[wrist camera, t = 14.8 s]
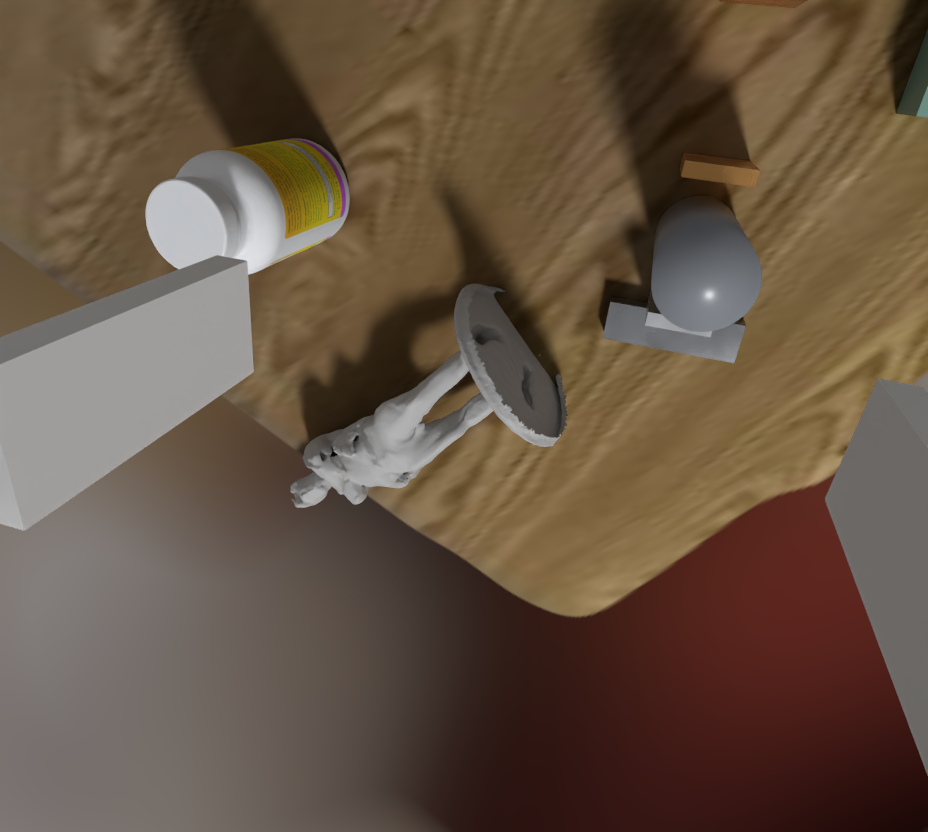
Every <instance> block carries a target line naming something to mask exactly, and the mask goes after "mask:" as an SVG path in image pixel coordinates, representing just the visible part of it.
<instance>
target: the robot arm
mask: <svg viewBox="0 0 928 832" xmlns="http://www.w3.org/2000/svg"><path fill="white" fill-rule="evenodd" d="M253 372H254V370H253V353H252V335H251V318H250V300H249V283H248V266H247V261H246V260H240V259H235V258H229V257H224V256H219V255H216V256H214V257H211V258H208V259H206V260H203V261H200V262H198V263H195V264H192V265H190V266H187V267H184V268H182V269H179V270H177V271H174V272H171V273H169V274H166V275H163V276H161V277H158V278H155V279H153V280H150V281H147V282H145V283H142V284H140V285H137V286H134V287H132V288H129V289H126V290H124V291H121V292H118V293H116V294H113V295H110V296H108V297H105V298H103V299H100V300H97V301H95V302H92V303H89V304H87V305H84V306H81V307H79V308H76V309H74V310H71V311H68V312H66V313H63V314H60V315H58V316H55V317H52V318H50V319H47V320H45V321H42V322H39V323H37V324H34V325H31V326H29V327H26V328H23V329H21V330H18V331H16V332H13V333H10V334H7V335H5V336H3V337H0V524H3V525H7V526H10V527H14V528H17V529H20V530H24V531H25V530H27V529H28V528H29V527H31V526H32V525H34V524H35V523H37V522H38V521H39V520H41V519H42V518H44V517H45V516H47V515H48V514H50V513H51V512H52V511H54V510H55V509H57V508H58V507H60V506H61V505H63V504H64V503H65V502H67V501H68V500H70V499H71V498H73V497H74V496H76V495H77V494H78V493H80V492H81V491H83V490H84V489H86V488H87V487H89V486H90V485H91V484H93V483H94V482H96V481H97V480H99V479H100V478H102V477H103V476H104V475H106V474H107V473H109V472H110V471H112V470H113V469H115V468H116V467H117V466H119V465H120V464H122V463H123V462H125V461H126V460H128V459H129V458H130V457H132V456H133V455H135V454H136V453H137V452H139V451H141V450H142V449H143V448H145V447H146V446H148V445H149V444H151V443H152V442H154V441H155V440H156V439H158V438H159V437H161V436H162V435H164V434H165V433H166V432H168V431H169V430H171V429H172V428H174V427H175V426H176V425H178V424H180V423H181V422H182V421H184V420H185V419H187V418H188V417H189V416H191V415H192V414H194V413H195V412H197V411H198V410H200V409H201V408H203V407H204V406H205V405H207V404H208V403H210V402H211V401H213V400H214V399H216V398H217V397H218V396H220V395H221V394H223V393H224V392H226V391H227V390H229V389H230V388H231V387H233V386H234V385H236V384H237V383H239V382H240V381H242V380H243V379H244V378H246V377H247V376H249V375H250V374H252V373H253ZM825 501H826V504H827V507H828V509H829V512H830V515H831V517H832V520H833V523H834V525H835V528H836V531H837V533H838V536H839V539H840V541H841V544H842V547H843V550H844V552H845V555H846V557H847V560H848V563H849V565H850V568H851V571H852V574H853V576H854V579H855V582H856V584H857V587H858V590H859V592H860V595H861V598H862V600H863V603H864V606H865V608H866V611H867V614H868V617H869V619H870V622H871V624H872V627H873V630H874V633H875V635H876V638H877V641H878V643H879V646H880V649H881V651H882V654H883V657H884V659H885V662H886V665H887V668H888V670H889V673H890V676H891V678H892V681H893V683H894V686H895V689H896V692H897V694H898V697H899V700H900V702H901V705H902V708H903V711H904V713H905V716H906V718H907V721H908V724H909V727H910V729H911V732H912V735H913V737H914V740H915V743H916V745H917V748H918V750H919V753H920V756H921V759H922V761H923V764H924V767H925V770H926V772H927V775H928V393H927V391H926V390H925V389H924V388H923V387H920V386H915V385H909V384H904V383H899V382H893V381H888V380H883V379H877V382H876V384H875V386H874V389H873V391H872V393H871V395H870V398H869V400H868V402H867V404H866V407H865V409H864V411H863V414H862V416H861V418H860V420H859V423H858V425H857V427H856V429H855V432H854V434H853V436H852V439H851V441H850V443H849V445H848V448H847V450H846V452H845V454H844V457H843V459H842V461H841V464H840V466H839V468H838V470H837V473H836V475H835V477H834V479H833V482H832V484H831V486H830V489H829V491H828V493H827V496H826V498H825Z"/></svg>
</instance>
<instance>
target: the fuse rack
mask: <svg viewBox="0 0 928 832" xmlns="http://www.w3.org/2000/svg"><path fill="white" fill-rule="evenodd" d="M720 1H722V2H733V3H745V4H756V5H767V6H779V7H790V8H795V7H797V6H799V5H800V4H802V3H804V2H805V1H807V0H720ZM680 173H681V177H685V178H692V179H699V180H706V181H713V182H721V183H728V184H735V185H742V186H749V187H755V186H756V183H757V179H758V176H759V173H760V170H759V169H758V168H757V167H756V166H755V165H754V164H753V163H752V162H751V161H746V160H738V159H731V158H723V157H716V156H708V155H701V154H693V153H686V152H683V156H682V161H681V165H680ZM745 327H746V325H745V321H744V320H743V319H739V320H738V321H736V322H735V323H733V324H731V325H729V326H727V327H725V328H722V329H719V330H715V331H709V332H695V331H689V330H686V329H683V328H680V327H678V326H676V325H674V324H673V323H671V322H670V321H668V320H667V319H666V318H665V317H664V316H663V315H662V314H661V313H660V311H659V310H658V308H657V306H656V304H655V302H654V299H653V296H652V291H651V290H650V293H649V297H648V301H647V302H641V301H635V300H630V299H624V298H618V297H613V296H612V298H611V301H610V306H609V311H608V315H607V320H606V325H605V329H604V334H603V338H604V339H610V340H615V341H620V342H625V343H631V344H636V345H641V346H647V347H652V348H657V349H662V350H668V351H673V352H678V353H683V354H689V355H694V356H699V357H704V358H710V359H715V360H720V361H725V362H731V363H734V362H735V359H736V355H737V352H738V349H739V346H740V343H741V340H742V337H743V334H744V331H745Z"/></svg>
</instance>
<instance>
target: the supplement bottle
mask: <svg viewBox="0 0 928 832" xmlns="http://www.w3.org/2000/svg"><path fill="white" fill-rule="evenodd" d="M349 203H350V194H349V187H348V182H347V179H346V176H345V174H344V172H343V170H342V168H341V166H340V164H339V163H338V161H337V160H336V159H335V158H334V156H333V155H332V154H331V153H329V152H328V151H327V150H326V149H325V148H323V147H322V146H320V145H319V144H317V143H314V142H312V141H309V140H306V139H300V138H292V139H284V140H277V141H271V142H265V143H259V144H253V145H247V146H241V147H234V148H227V149H220V150H214V151H208V152H204V153H201V154H199V155H197V156H195V157H193V158H192V159H190V160H189V161H188V162H187V163H186V164H185V165H184V166H183V167H182V168H181V169H180V171H179V172H178V174H177V176H176V178H173V179H169V180H166V181H164V182H162V183H160V184H159V185H157V186H156V187H155V188H154V189H153V191H152V192H151V194H150V196H149V198H148V200H147V204H146V225H147V229H148V232H149V235H150V237H151V240H152V242H153V243H154V245H155V247H156V249H157V250H158V251H159V253H160V254H161V255H162V256H163V257H164V258H165V259H166V260H167V261H168V262H169V263H170V264H172V265H173V266H174V267H176V268H178V269H182V268H184V267H187V266H190V265H192V264H195V263H198V262H200V261H203V260H206V259H208V258H211V257H214V256H216V255H219V256H224V257H229V258H235V259H240V260H246V261H247V266H248V274H252V273H255V272H258V271H260V270H262V269H264V268H266V267H268V266H270V265H272V264H275V263H277V262H279V261H281V260H283V259H286V258H288V257H290V256H292V255H294V254H297V253H299V252H301V251H303V250H306V249H308V248H310V247H312V246H314V245H317V244H319V243H321V242H323V241H325V240H327V239H328V238H330V237H331V236H333V235H334V234H335V233H336V232H337V231H338V230H339V229H340V228H341V226H342V225H343V223H344V221H345V219H346V217H347V214H348V210H349Z"/></svg>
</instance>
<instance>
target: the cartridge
mask: <svg viewBox="0 0 928 832" xmlns="http://www.w3.org/2000/svg"><path fill="white" fill-rule="evenodd" d="M761 283H762V269H761V264H760V261H759V258H758V256H757V254H756V252H755V250H754V249H753V247H752V245H751V243H750V242H749V240H748V238H747V237H746V235H745V233H744V231H743V230H742V228H741V226H740V224H739V223H738V221H737V219H736V218H735V216H734V214H733V212H732V211H731V210H730V208H729V207H728V206H727V205H726V204H725V203H723V202H722V201H720V200H718V199H716V198H714V197H710V196H704V195H697V196H690V197H687V198H684V199H681V200H680V201H678V202H676V203H674V204H673V205H672V206H671V207H669V208H668V209H667V210H666V212H665V213H664V214H663V215H662V217H661V218H660V220H659V222H658V225H657V228H656V232H655V241H654V253H653V265H652V277H651V291H652V296H653V299H654V302H655V304H656V306H657V308H658V310H659V311H660V313H661V314H662V315H663V316H664V317H665V318H666V319H667V320H668V321H670V322H671V323H673V324H674V325H676V326H678V327H680V328H683V329H686V330H689V331H695V332H709V331H715V330H719V329H722V328H725V327H727V326H729V325H731V324H733V323H735V322H736V321H738V320H739V319H740V318H742V317H743V316H744V315H745V314H746V313H747V312H748V311H749V309H750V308H751V307H752V305H753V304H754V302H755V301H756V299H757V297H758V294H759V291H760V288H761Z"/></svg>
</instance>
